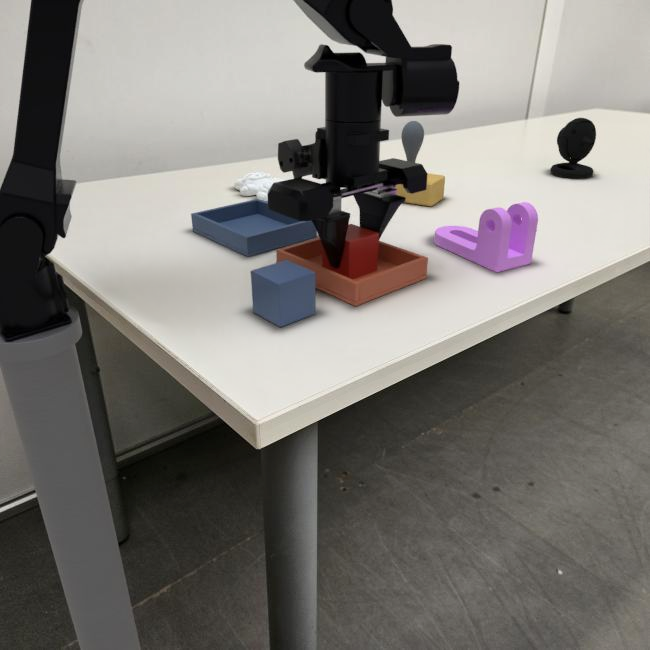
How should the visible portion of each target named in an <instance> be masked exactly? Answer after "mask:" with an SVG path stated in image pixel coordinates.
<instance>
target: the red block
mask: <svg viewBox="0 0 650 650" xmlns="http://www.w3.org/2000/svg"><path fill="white" fill-rule="evenodd" d="M379 241H380V239H379V233H377V232H374V231H371V230H368V229H365V228H362V227H360V225H356V224H353V223H349V224H348V229H347V234H346V239H345V244H344V249H343V255H342V259H341V262H340V265H339V268H333V267H331V266H330V264H329V261H328V259H327V256H326V253H325V251H324V248H323V245H322V267H324V268H326V269H329V270H331V271H333V272H336V273H338V274H341V275H343V276H345V277H348V278H350V279H355V278H358V277H361V276H363V275H366V274H369V273H372V272H375V271H377V266H378V242H379Z"/></svg>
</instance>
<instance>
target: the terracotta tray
mask: <svg viewBox="0 0 650 650" xmlns="http://www.w3.org/2000/svg"><path fill="white" fill-rule="evenodd" d="M275 250H276V251H275V253H276V263H278V262H281V261H285V260H288V261H290V262H293V263H295V264H297V265H299V266H302V267H304V268H306V269H309V270H311V271H313V272H315V289H317V290H319V291H321V292H324V293H326V294H327V295H330V296H332V297H334V298H337V299H338V300H341V301H343V302H344V303H348V304H350V305H352V306H354V307H357V306H360V305H362V304H365V303H367V302H370V301H372V300H376V299H377V298H380V297H382V296H385V295H388V294H390V293H392V292H393V293H394V292H395V291H398V290H401V289H402V288H405V287H407V286H410V285H412V284H415V283H418V282H420V281H423V280H426V279H427V277H428V263H429V256H428V257H427V256H425V255H421V254H419V253H416V252H413V251H410V250H407V249H404V248H401V247H399V246H396V245H393V244H390V243H387V242H385V241H382V240H379V242H378V266H377V271H375V272H372V273H369V274H366V275H363V276H361V277H358V278H355V279H350V278H348V277H345V276H343V275H341V274H338V273H336V272H333V271H331V270H329V269H326V268H324V267H322V243H321V240H320V237H315V238H312V239H308V240H305V241H301V242H298V243H294V244H291V245H287V246H284V247H281V248H277V249H275Z"/></svg>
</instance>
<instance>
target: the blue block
mask: <svg viewBox="0 0 650 650" xmlns="http://www.w3.org/2000/svg"><path fill="white" fill-rule="evenodd" d="M250 282H251V299H252V312H253V313H254V314H256V315H257V316H259V317H261V318H262V319H265V320H267V321H268V322H270V323H272V324H274V325H275V326H277V327H279V328H282V327H285V326H287V325H290V324H292V323H295V322H299V321H301V320H303V319H305V318H308V317H311V316H314V315H316V312H317V311H316V288H315V272H313V271H311V270H309V269H306V268H304V267H302V266H299V265H297V264H295V263H293V262H290V261H288V260H285V261H281V262H278V263H277V262H274V263H271V264H268V265H265V266H262V267H259V268H256V269H253V270H250Z"/></svg>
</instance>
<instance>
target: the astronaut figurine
mask: <svg viewBox="0 0 650 650" xmlns="http://www.w3.org/2000/svg"><path fill="white" fill-rule="evenodd" d="M285 180H286V179H285V178H279V177H275V178H274V177H273V176H271V174H270V173H268V172H262V171H256V172H248V173H247V174H245V175H243V176H242V177H239V178H237V179H235V181H234V189H235V190H237V191H239V193H240V195H241V196H243V197H249V196H256V199H260V200H263V201H266V202H268V190H269V189H270V187H271V186H272V184H273V183H276V182H280V181H285Z"/></svg>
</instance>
